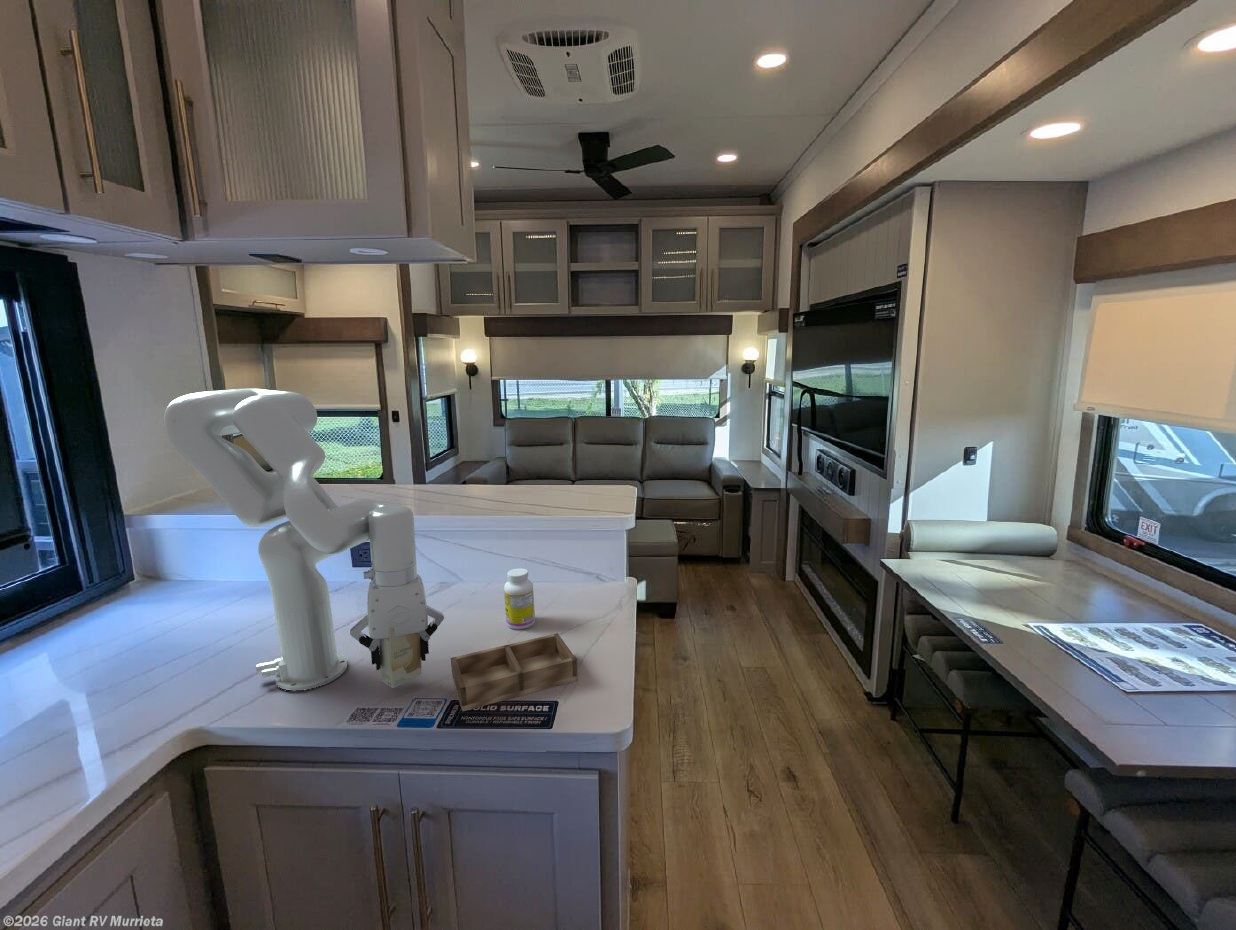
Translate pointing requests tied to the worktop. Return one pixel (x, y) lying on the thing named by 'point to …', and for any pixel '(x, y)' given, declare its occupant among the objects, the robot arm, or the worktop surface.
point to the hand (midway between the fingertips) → (400, 661)
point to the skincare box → (400, 658)
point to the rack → (512, 671)
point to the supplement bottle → (519, 599)
